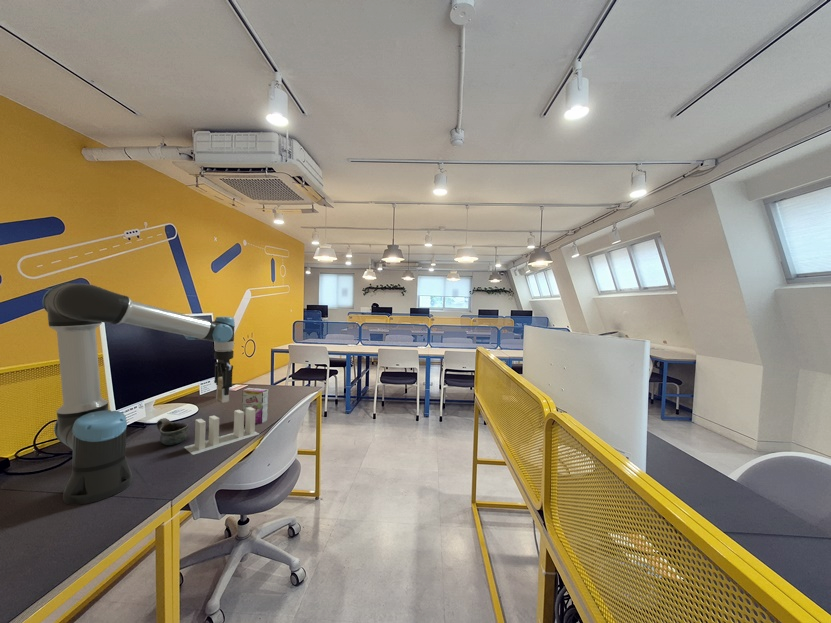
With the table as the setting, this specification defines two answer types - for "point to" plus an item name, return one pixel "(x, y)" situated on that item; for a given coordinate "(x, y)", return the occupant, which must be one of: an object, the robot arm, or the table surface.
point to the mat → (222, 441)
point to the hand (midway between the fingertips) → (222, 400)
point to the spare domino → (220, 389)
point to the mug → (172, 431)
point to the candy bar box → (256, 403)
